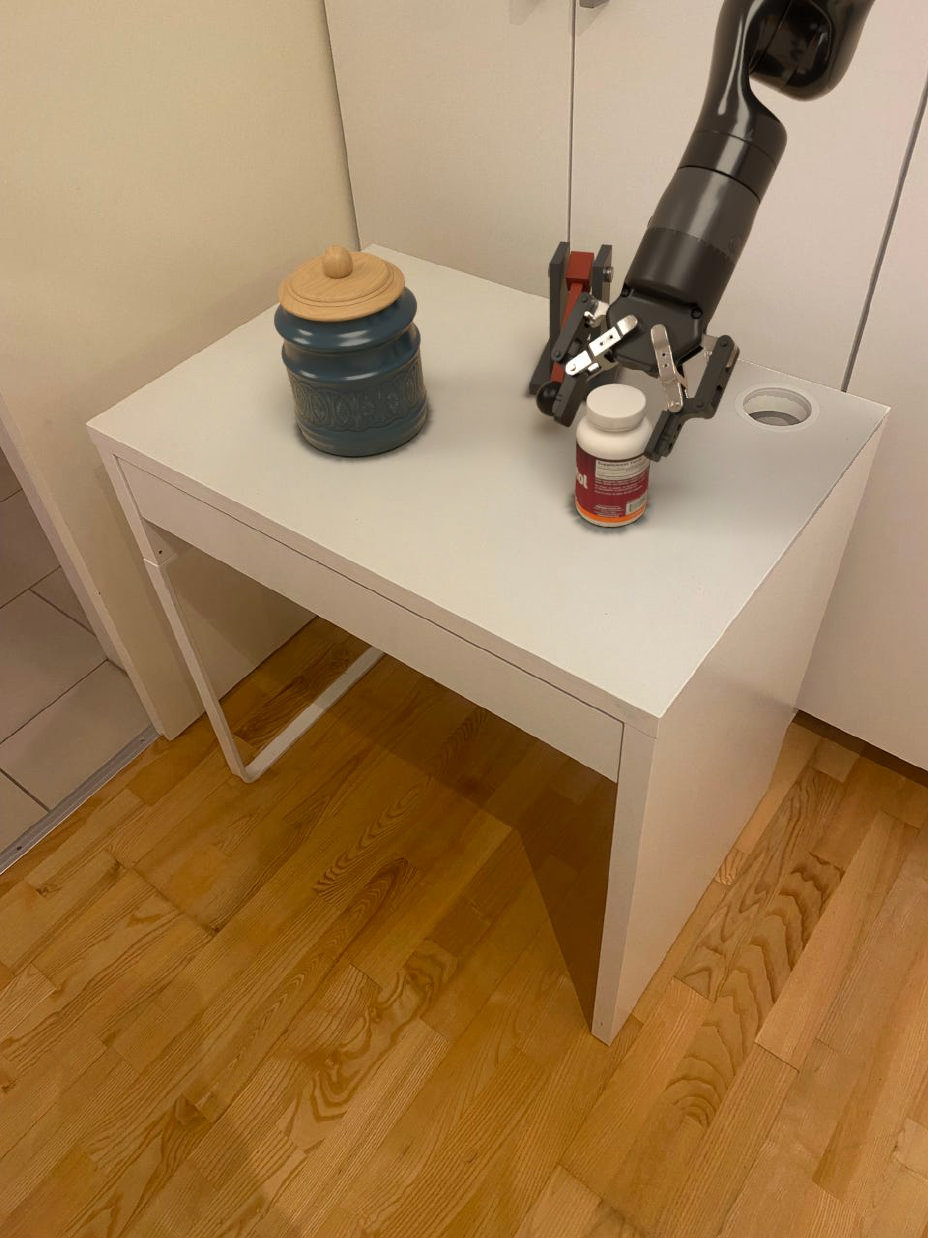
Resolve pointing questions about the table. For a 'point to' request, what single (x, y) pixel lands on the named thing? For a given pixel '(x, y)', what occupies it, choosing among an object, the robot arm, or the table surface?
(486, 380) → the table surface
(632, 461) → the pill bottle
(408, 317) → the canister
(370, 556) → the table surface
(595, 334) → the bracket
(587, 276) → the lever
